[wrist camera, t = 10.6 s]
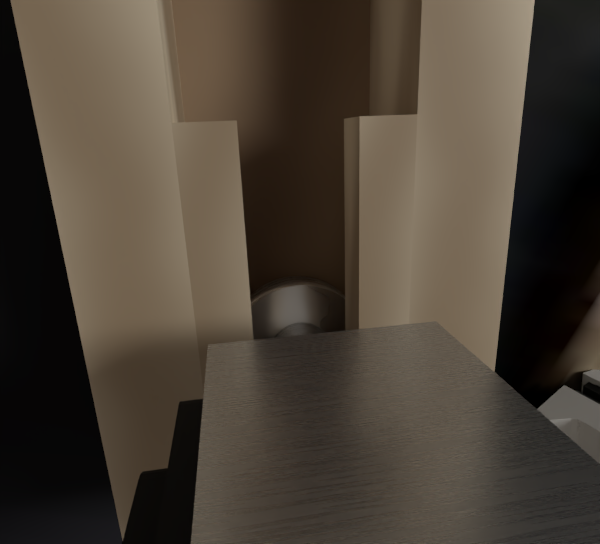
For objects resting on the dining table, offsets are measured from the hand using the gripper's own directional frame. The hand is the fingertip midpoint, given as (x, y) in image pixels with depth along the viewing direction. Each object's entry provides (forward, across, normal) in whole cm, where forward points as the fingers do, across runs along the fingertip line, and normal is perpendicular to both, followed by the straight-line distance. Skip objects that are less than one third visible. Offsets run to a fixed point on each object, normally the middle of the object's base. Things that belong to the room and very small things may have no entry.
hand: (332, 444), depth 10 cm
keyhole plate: (+7, 0, -5) cm, 8 cm away
